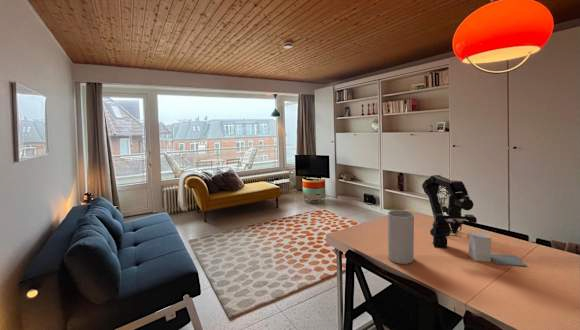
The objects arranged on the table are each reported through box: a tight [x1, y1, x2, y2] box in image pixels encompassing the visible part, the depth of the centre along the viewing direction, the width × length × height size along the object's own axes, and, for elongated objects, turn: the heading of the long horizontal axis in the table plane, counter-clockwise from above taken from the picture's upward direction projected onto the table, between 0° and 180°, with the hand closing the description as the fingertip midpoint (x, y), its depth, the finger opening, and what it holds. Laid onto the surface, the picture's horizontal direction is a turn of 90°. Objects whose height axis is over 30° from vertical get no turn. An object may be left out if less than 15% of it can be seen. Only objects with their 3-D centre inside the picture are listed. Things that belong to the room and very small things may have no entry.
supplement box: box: [468, 232, 492, 263], centre depth 141 cm, size 7×7×13 cm
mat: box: [491, 253, 528, 268], centre depth 139 cm, size 13×11×1 cm
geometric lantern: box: [437, 185, 463, 237], centre depth 174 cm, size 16×16×35 cm
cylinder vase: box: [387, 209, 415, 265], centre depth 144 cm, size 12×12×25 cm
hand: (454, 233), depth 144 cm, fingers closed
